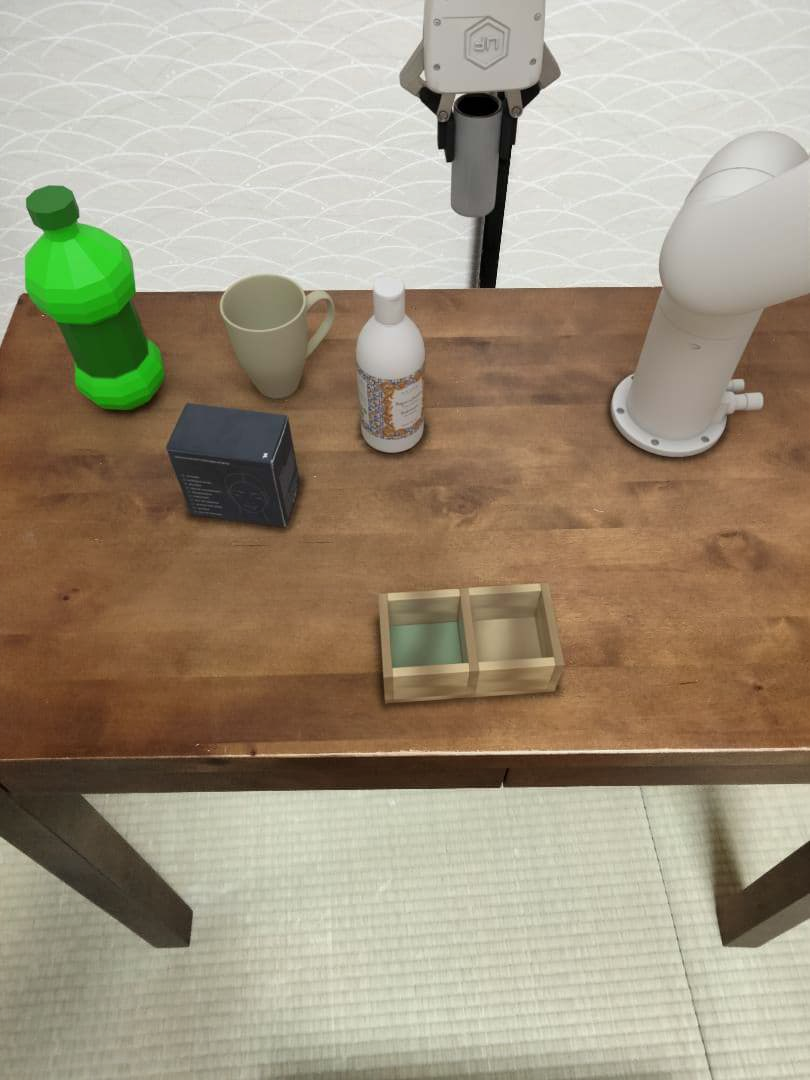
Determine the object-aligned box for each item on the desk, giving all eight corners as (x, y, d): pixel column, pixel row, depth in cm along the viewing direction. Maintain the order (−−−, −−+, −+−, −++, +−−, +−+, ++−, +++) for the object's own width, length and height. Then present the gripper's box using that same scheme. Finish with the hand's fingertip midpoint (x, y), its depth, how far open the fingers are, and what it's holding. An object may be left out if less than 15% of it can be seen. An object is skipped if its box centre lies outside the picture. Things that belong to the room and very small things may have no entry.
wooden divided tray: (540, 613, 78) (548, 582, 73) (554, 691, 74) (565, 664, 69) (380, 623, 78) (378, 593, 73) (384, 703, 73) (383, 677, 68)
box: (302, 479, 87) (290, 413, 78) (287, 529, 84) (272, 466, 75) (206, 466, 88) (184, 400, 80) (187, 515, 85) (162, 451, 76)
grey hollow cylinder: (501, 213, 82) (510, 112, 74) (458, 222, 82) (462, 121, 73) (486, 188, 85) (492, 87, 76) (444, 196, 84) (446, 96, 76)
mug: (305, 422, 92) (292, 342, 82) (226, 400, 94) (204, 319, 84) (342, 357, 97) (334, 275, 87) (267, 338, 99) (251, 254, 89)
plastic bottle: (190, 374, 96) (128, 178, 75) (142, 438, 90) (62, 246, 70) (116, 352, 98) (37, 156, 77) (66, 413, 93) (-34, 220, 72)
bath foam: (383, 464, 88) (376, 322, 72) (349, 424, 91) (336, 278, 75) (435, 437, 90) (441, 292, 74) (401, 399, 94) (399, 252, 77)
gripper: (382, -43, 61) (390, 181, 76) (605, -55, 62) (569, 170, 77) (376, -83, 65) (385, 136, 81) (585, -94, 66) (555, 126, 81)
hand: (475, 151), depth 79 cm, fingers closed on grey hollow cylinder, 4 cm apart
